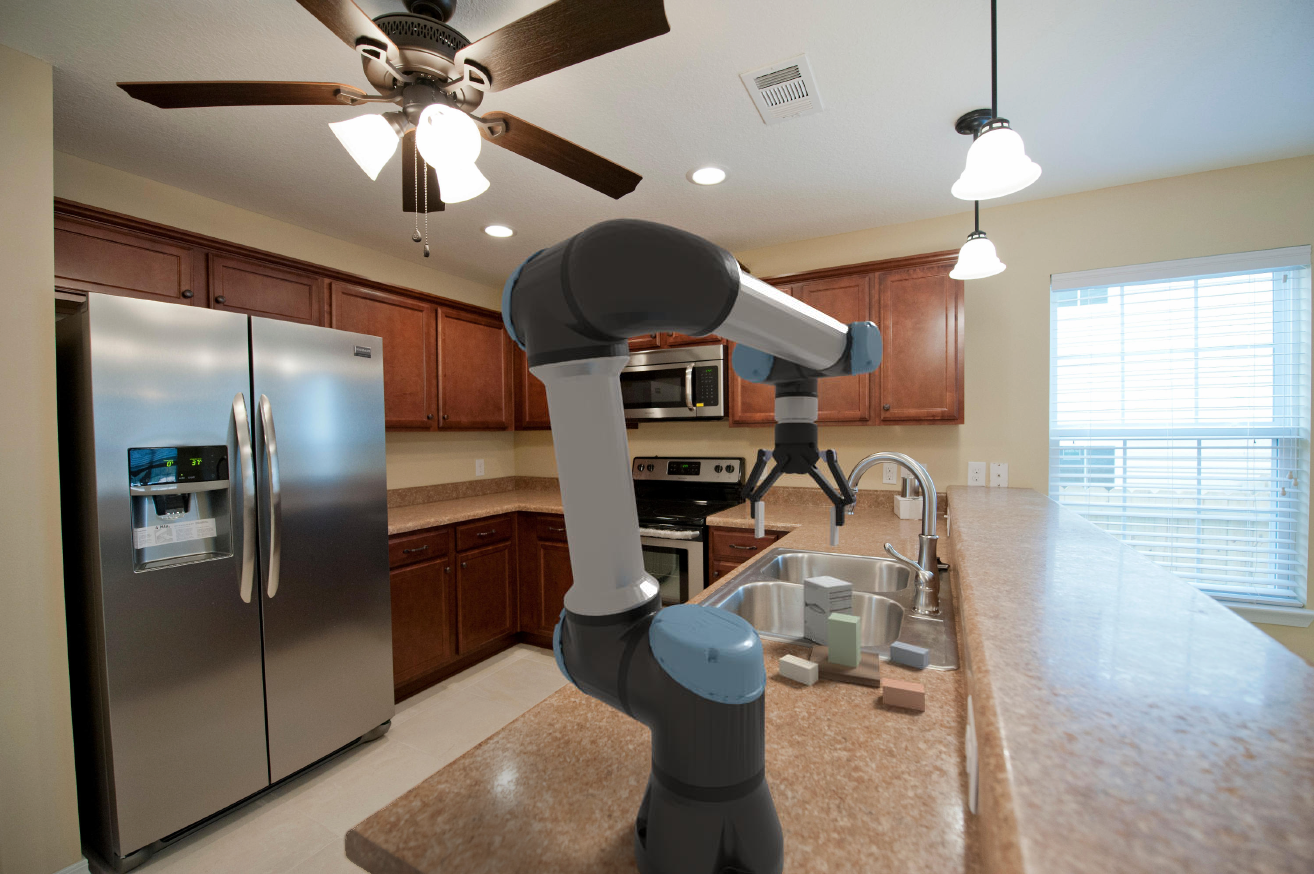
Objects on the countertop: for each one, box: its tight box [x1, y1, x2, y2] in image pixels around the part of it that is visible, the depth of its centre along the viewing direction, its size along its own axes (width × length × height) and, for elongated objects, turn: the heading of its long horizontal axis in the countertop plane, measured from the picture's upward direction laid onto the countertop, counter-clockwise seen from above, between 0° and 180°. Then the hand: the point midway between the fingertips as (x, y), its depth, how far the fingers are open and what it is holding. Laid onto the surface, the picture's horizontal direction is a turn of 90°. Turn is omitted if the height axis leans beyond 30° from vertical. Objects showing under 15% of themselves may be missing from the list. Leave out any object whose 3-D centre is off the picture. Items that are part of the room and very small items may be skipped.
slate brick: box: [889, 640, 930, 670], centre depth 97 cm, size 6×3×3 cm, turn 44°
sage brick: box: [828, 613, 862, 668], centre depth 95 cm, size 4×5×8 cm
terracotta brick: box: [882, 677, 926, 712], centre depth 82 cm, size 6×3×3 cm, turn 66°
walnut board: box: [809, 644, 881, 688], centre depth 95 cm, size 12×12×1 cm
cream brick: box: [778, 654, 819, 687], centre depth 91 cm, size 6×3×3 cm, turn 44°
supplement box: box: [803, 575, 854, 646], centre depth 109 cm, size 7×7×13 cm
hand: (795, 541), depth 91 cm, fingers open, 13 cm apart
